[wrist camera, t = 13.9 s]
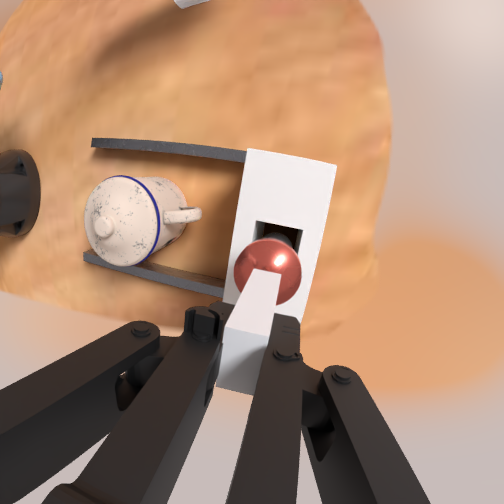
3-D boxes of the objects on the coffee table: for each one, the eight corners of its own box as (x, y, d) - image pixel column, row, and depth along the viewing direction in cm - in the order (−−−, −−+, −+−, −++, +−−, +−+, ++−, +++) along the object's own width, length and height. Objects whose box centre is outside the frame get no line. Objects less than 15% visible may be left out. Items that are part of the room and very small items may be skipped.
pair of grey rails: (93, 255, 38) (83, 260, 36) (103, 139, 34) (92, 137, 31) (238, 292, 36) (234, 300, 34) (262, 155, 32) (259, 153, 29)
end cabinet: (238, 291, 36) (218, 330, 26) (262, 157, 32) (247, 148, 22) (295, 303, 35) (293, 347, 26) (325, 169, 31) (337, 165, 21)
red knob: (246, 267, 27) (229, 298, 20) (254, 219, 25) (239, 235, 19) (294, 278, 26) (293, 312, 19) (305, 230, 25) (308, 249, 18)
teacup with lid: (129, 247, 37) (73, 274, 26) (124, 178, 35) (63, 182, 23) (216, 247, 35) (180, 279, 24) (212, 169, 33) (171, 166, 22)
